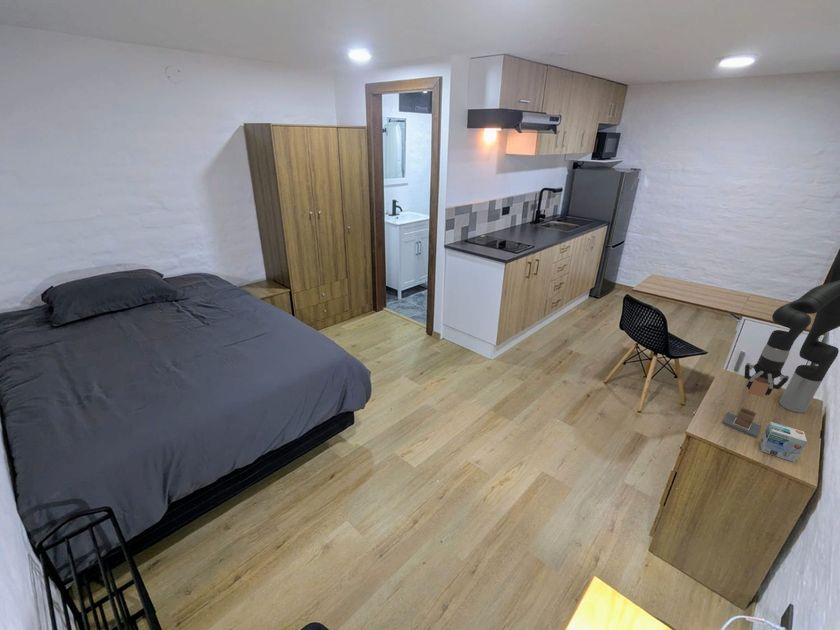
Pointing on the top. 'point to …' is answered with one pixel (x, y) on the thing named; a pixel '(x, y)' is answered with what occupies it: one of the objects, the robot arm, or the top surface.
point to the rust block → (759, 387)
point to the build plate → (751, 431)
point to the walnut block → (745, 418)
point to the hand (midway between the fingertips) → (757, 391)
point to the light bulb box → (783, 441)
